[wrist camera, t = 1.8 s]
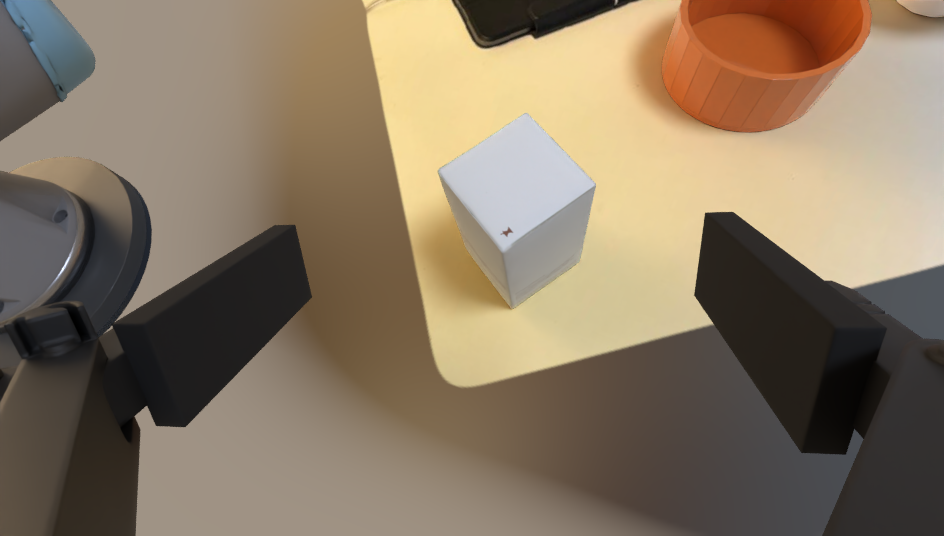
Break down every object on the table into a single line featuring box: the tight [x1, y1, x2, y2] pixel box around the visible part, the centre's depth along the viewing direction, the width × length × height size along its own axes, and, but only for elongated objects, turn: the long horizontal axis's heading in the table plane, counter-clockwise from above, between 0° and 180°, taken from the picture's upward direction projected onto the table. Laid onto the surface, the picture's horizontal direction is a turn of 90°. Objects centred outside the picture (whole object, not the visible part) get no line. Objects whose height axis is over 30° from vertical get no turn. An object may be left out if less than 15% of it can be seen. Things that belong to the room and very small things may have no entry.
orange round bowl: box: [662, 0, 872, 132], centre depth 41 cm, size 14×14×6 cm
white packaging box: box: [438, 113, 596, 309], centre depth 34 cm, size 7×7×13 cm
